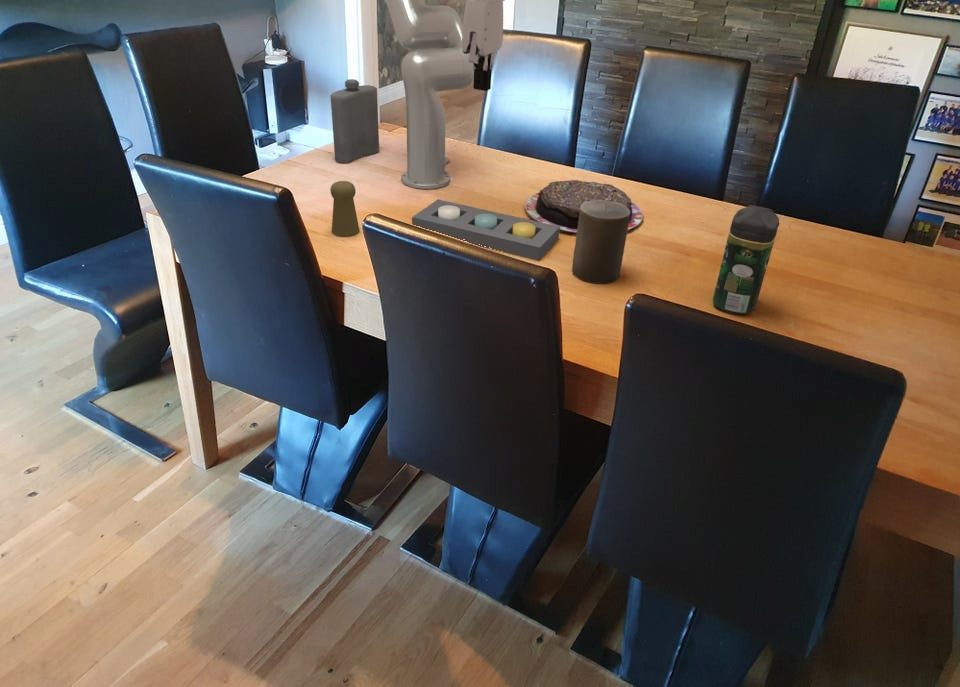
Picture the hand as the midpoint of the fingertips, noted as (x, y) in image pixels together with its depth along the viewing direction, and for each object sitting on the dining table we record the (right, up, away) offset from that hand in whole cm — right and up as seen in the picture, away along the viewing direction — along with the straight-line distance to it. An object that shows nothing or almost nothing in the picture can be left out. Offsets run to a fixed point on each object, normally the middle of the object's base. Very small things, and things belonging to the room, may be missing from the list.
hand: (481, 89), depth 147 cm
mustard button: (+9, -31, +6) cm, 32 cm away
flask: (-34, -1, +49) cm, 60 cm away
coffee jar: (+48, -45, -11) cm, 67 cm away
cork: (-30, -28, +8) cm, 42 cm away
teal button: (+1, -28, +9) cm, 30 cm away
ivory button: (-7, -26, +12) cm, 29 cm away
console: (+1, -28, +10) cm, 30 cm away
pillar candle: (+23, -38, -3) cm, 45 cm away
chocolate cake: (+24, -22, +23) cm, 40 cm away
